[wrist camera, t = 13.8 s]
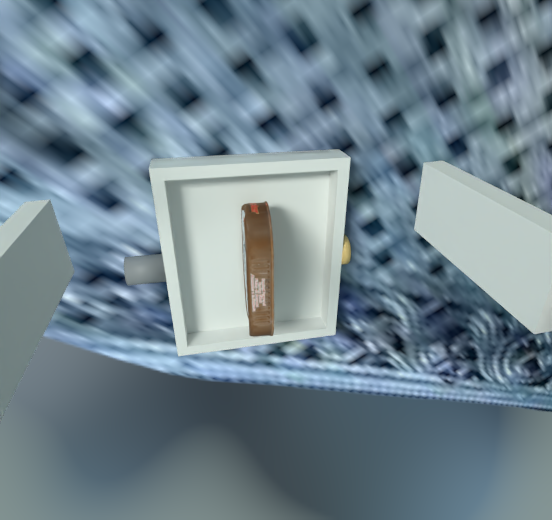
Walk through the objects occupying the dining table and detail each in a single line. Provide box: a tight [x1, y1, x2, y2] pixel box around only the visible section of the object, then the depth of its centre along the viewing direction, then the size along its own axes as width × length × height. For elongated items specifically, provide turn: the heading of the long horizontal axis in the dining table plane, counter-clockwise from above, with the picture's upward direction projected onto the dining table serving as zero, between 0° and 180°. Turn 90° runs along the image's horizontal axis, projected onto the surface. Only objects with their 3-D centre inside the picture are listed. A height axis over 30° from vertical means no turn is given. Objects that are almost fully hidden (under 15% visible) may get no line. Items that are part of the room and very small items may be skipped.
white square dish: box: [124, 149, 351, 356], centre depth 45 cm, size 24×22×4 cm
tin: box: [241, 201, 274, 337], centre depth 42 cm, size 15×3×8 cm, turn 0°
